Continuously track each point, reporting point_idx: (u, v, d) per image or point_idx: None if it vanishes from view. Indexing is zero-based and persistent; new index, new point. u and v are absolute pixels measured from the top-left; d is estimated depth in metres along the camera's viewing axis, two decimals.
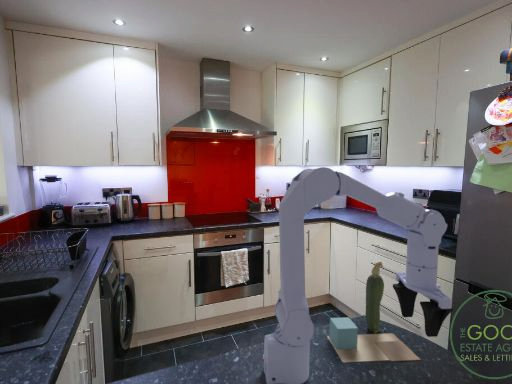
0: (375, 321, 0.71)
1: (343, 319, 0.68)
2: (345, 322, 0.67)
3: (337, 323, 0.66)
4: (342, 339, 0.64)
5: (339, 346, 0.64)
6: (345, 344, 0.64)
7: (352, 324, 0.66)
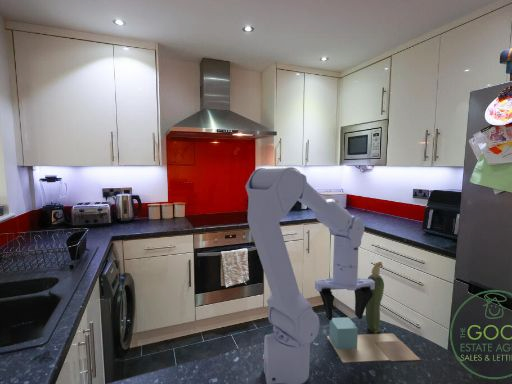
0: (375, 321, 0.71)
1: (343, 319, 0.68)
2: (345, 322, 0.67)
3: (337, 323, 0.66)
4: (342, 339, 0.64)
5: (339, 346, 0.64)
6: (345, 344, 0.64)
7: (352, 324, 0.66)
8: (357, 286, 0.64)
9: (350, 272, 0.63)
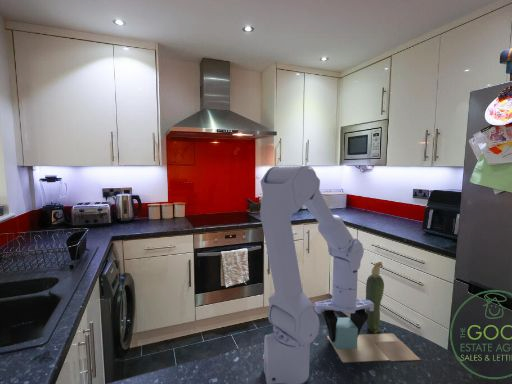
0: (375, 321, 0.71)
1: (343, 319, 0.68)
2: (345, 322, 0.67)
3: (337, 323, 0.66)
4: (342, 339, 0.64)
5: (339, 346, 0.64)
6: (345, 344, 0.64)
7: (352, 324, 0.66)
8: (356, 308, 0.64)
9: (349, 295, 0.63)
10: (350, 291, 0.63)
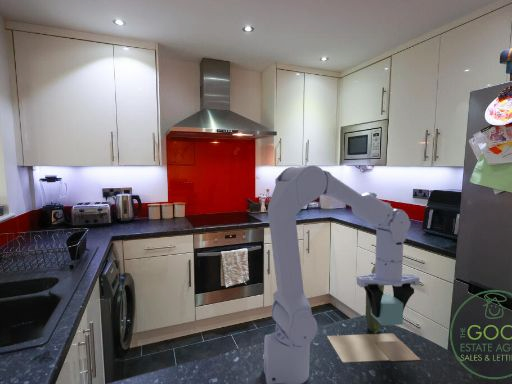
0: (375, 321, 0.71)
1: (385, 295, 0.66)
2: (388, 298, 0.64)
3: None
4: (387, 315, 0.62)
5: (384, 322, 0.62)
6: (390, 320, 0.62)
7: (396, 300, 0.63)
8: (402, 282, 0.61)
9: (395, 268, 0.61)
10: (396, 263, 0.61)
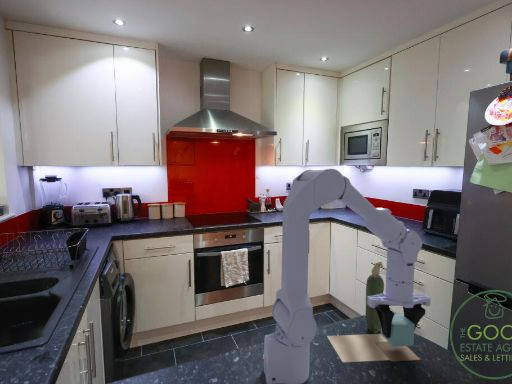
0: (375, 321, 0.71)
1: (396, 315, 0.65)
2: (399, 318, 0.64)
3: None
4: (398, 336, 0.61)
5: (395, 343, 0.61)
6: (401, 341, 0.61)
7: (407, 320, 0.63)
8: (413, 303, 0.61)
9: (406, 289, 0.60)
10: (408, 285, 0.60)
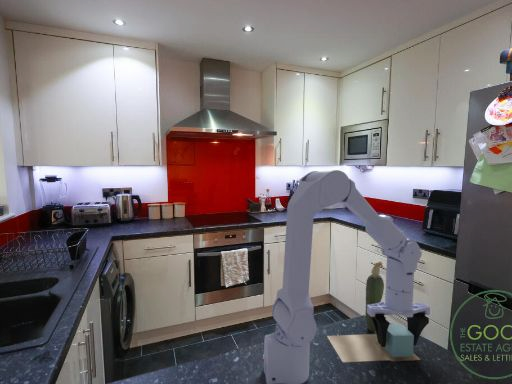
0: None
1: (395, 325, 0.65)
2: (398, 329, 0.64)
3: (390, 330, 0.63)
4: (397, 347, 0.61)
5: (394, 354, 0.61)
6: (401, 352, 0.61)
7: (406, 331, 0.63)
8: (413, 312, 0.61)
9: (406, 298, 0.60)
10: (407, 294, 0.60)
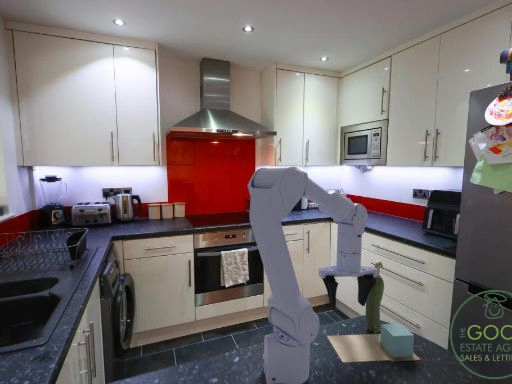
0: (375, 321, 0.71)
1: (395, 325, 0.65)
2: (398, 329, 0.64)
3: (390, 330, 0.63)
4: (397, 347, 0.61)
5: (394, 354, 0.61)
6: (401, 352, 0.61)
7: (406, 331, 0.63)
8: (360, 273, 0.65)
9: (353, 259, 0.64)
10: (354, 255, 0.64)
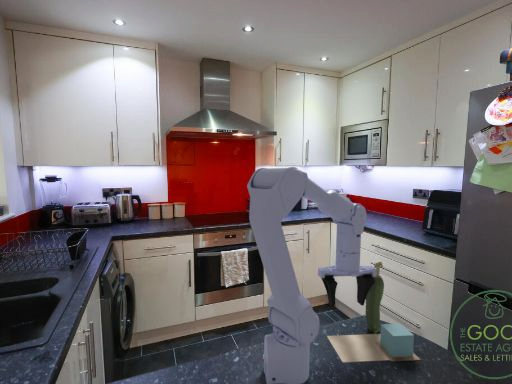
0: (375, 321, 0.71)
1: (395, 325, 0.65)
2: (398, 329, 0.64)
3: (390, 330, 0.63)
4: (397, 347, 0.61)
5: (394, 354, 0.61)
6: (401, 352, 0.61)
7: (406, 331, 0.63)
8: (360, 272, 0.65)
9: (353, 259, 0.64)
10: (354, 255, 0.64)
